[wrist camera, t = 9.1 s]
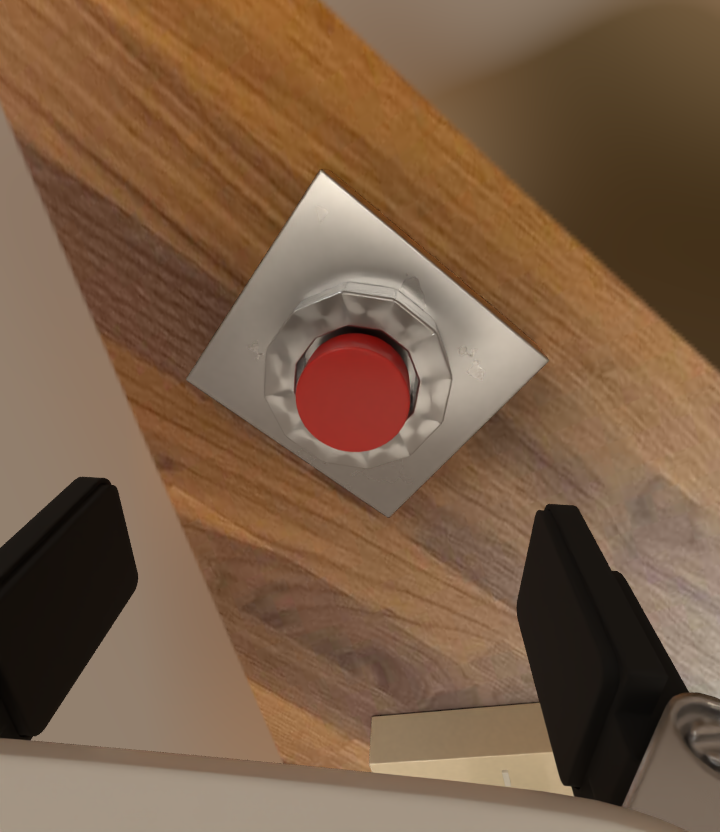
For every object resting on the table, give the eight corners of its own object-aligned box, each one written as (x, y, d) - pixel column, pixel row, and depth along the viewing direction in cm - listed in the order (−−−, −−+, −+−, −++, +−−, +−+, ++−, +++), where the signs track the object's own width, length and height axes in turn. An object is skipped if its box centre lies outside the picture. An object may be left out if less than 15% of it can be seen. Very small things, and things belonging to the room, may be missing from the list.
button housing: (204, 362, 23) (165, 397, 19) (329, 169, 19) (311, 166, 15) (390, 492, 25) (387, 545, 21) (537, 343, 21) (564, 377, 17)
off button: (284, 390, 19) (273, 409, 17) (345, 309, 17) (339, 322, 16) (366, 449, 20) (362, 472, 18) (432, 376, 18) (434, 395, 16)
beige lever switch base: (409, 815, 37) (410, 868, 35) (371, 716, 33) (368, 767, 30) (632, 806, 34) (653, 862, 32) (626, 694, 30) (650, 749, 27)
